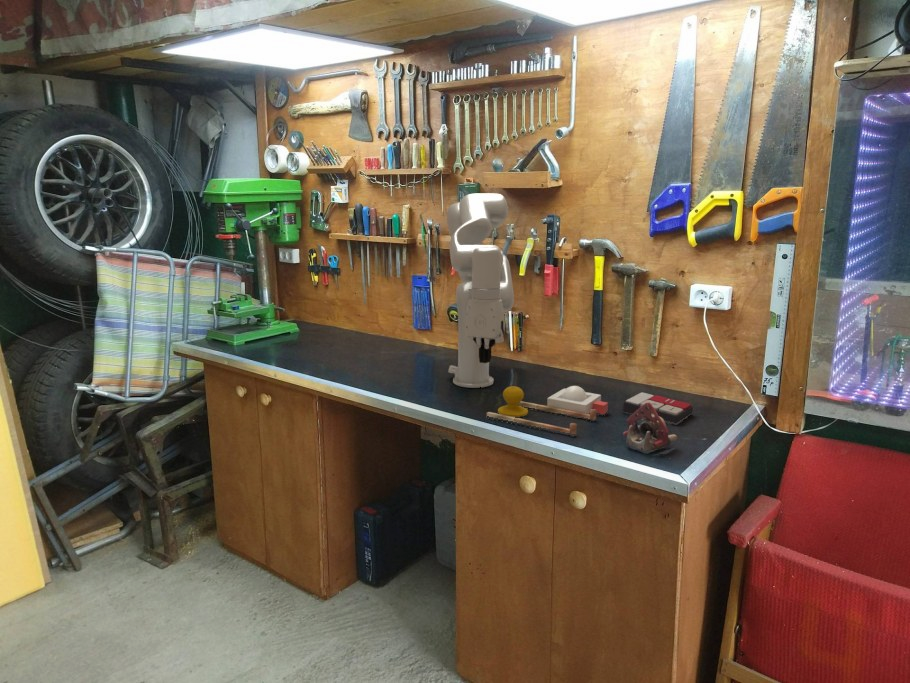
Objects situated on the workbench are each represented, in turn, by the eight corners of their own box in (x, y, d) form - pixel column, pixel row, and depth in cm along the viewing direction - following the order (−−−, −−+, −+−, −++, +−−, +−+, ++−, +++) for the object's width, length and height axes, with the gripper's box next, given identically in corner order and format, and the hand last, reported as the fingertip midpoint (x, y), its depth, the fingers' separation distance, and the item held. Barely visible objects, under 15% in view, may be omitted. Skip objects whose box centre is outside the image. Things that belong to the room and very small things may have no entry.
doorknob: (534, 415, 179) (511, 420, 174) (514, 407, 185) (491, 412, 180) (535, 388, 177) (511, 393, 172) (515, 381, 183) (492, 385, 179)
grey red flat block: (677, 413, 170) (623, 398, 179) (675, 429, 171) (621, 414, 180) (694, 403, 178) (641, 389, 188) (691, 418, 179) (639, 404, 189)
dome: (558, 409, 183) (559, 387, 181) (567, 403, 188) (568, 381, 187) (580, 414, 179) (581, 391, 178) (589, 407, 185) (590, 385, 183)
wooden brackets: (486, 418, 176) (486, 407, 175) (512, 403, 187) (512, 393, 187) (574, 437, 162) (575, 425, 162) (596, 420, 174) (597, 409, 174)
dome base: (547, 410, 182) (547, 398, 181) (563, 400, 191) (564, 388, 190) (597, 420, 174) (598, 407, 174) (612, 409, 183) (613, 397, 183)
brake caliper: (608, 437, 156) (630, 392, 158) (629, 455, 163) (650, 411, 165) (649, 452, 147) (672, 404, 150) (670, 470, 154) (691, 424, 157)
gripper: (454, 293, 178) (454, 361, 181) (503, 298, 170) (502, 368, 174) (469, 291, 184) (468, 356, 188) (517, 295, 176) (516, 363, 180)
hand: (484, 362), depth 181 cm, fingers closed
